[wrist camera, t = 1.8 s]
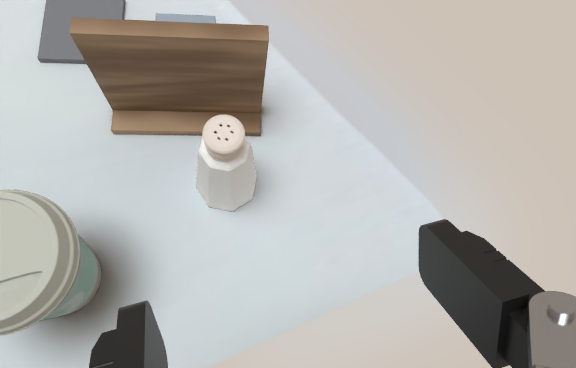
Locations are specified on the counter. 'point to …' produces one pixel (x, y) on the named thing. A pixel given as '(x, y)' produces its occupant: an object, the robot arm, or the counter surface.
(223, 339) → the counter surface
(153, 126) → the screen
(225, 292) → the counter surface
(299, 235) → the counter surface
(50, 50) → the pad
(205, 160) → the pepper shaker
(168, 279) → the counter surface
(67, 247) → the coffee cup
